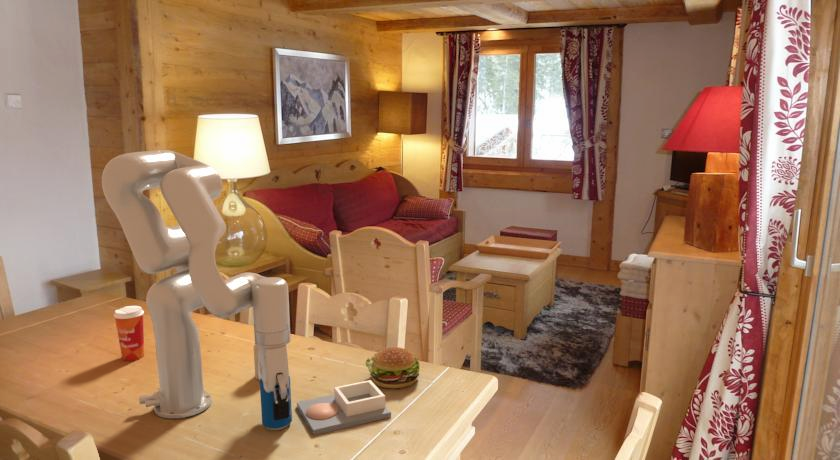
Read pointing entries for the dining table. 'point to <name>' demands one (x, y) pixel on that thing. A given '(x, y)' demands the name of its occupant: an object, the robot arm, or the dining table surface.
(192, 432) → the dining table surface
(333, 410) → the board
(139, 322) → the paper cup
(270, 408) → the beverage can
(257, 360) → the candle
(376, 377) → the food
